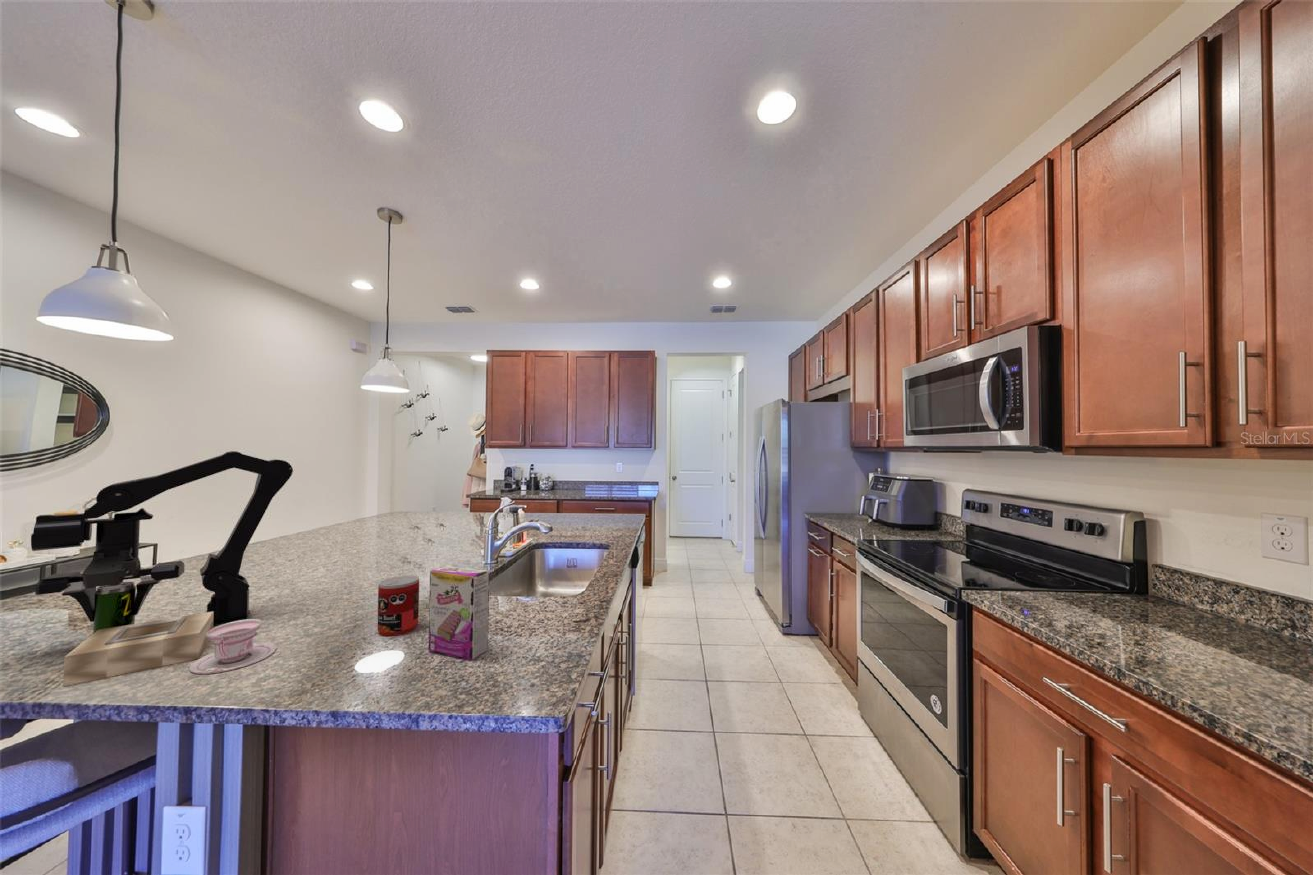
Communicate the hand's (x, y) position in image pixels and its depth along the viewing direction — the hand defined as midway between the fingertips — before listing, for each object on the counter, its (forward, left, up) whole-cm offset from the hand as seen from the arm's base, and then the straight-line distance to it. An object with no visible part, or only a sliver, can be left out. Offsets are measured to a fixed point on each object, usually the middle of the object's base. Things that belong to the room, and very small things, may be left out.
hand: (114, 617), depth 90 cm
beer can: (0, 0, -5) cm, 5 cm away
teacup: (-21, +24, -6) cm, 33 cm away
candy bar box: (-56, +48, -6) cm, 74 cm away
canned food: (-48, +28, -5) cm, 56 cm away
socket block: (-8, +13, -5) cm, 16 cm away
